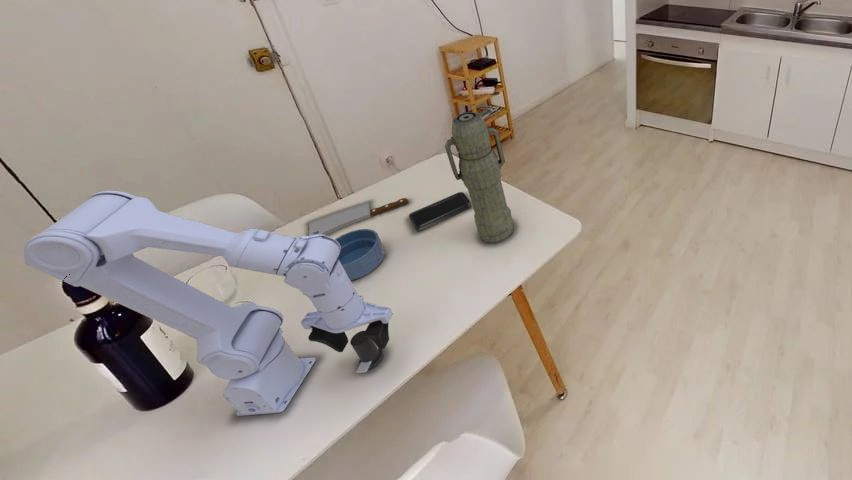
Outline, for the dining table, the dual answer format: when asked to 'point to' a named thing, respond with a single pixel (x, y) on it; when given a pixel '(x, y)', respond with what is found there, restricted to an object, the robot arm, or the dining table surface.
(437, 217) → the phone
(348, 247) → the blue round bowl
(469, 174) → the thermos
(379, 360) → the blade unit
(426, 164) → the dining table surface
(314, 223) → the kitchen cleaver
